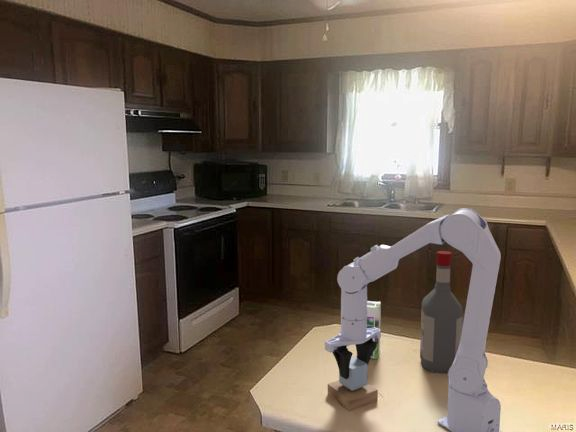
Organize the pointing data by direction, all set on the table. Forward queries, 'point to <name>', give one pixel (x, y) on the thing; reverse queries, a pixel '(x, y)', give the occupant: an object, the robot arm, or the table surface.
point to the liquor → (440, 321)
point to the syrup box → (374, 322)
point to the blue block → (355, 375)
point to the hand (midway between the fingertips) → (353, 374)
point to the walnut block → (352, 395)
